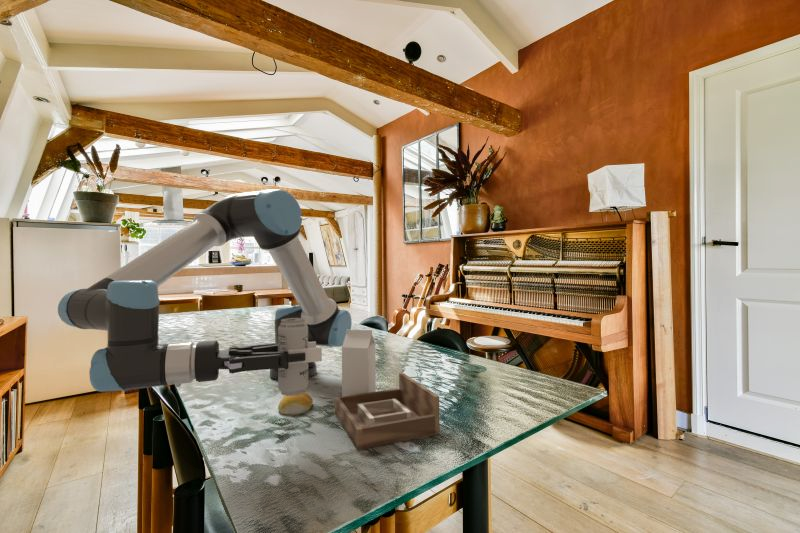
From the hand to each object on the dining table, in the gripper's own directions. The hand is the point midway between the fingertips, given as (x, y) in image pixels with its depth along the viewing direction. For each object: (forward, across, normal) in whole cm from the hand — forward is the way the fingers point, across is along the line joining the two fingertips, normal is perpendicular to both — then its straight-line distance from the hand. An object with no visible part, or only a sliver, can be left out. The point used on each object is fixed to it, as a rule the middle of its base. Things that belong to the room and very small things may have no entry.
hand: (318, 350), depth 80 cm
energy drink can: (-5, 0, -8) cm, 10 cm away
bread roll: (-3, -18, -18) cm, 26 cm away
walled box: (+15, 0, -18) cm, 23 cm away
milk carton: (+14, -16, -18) cm, 28 cm away
